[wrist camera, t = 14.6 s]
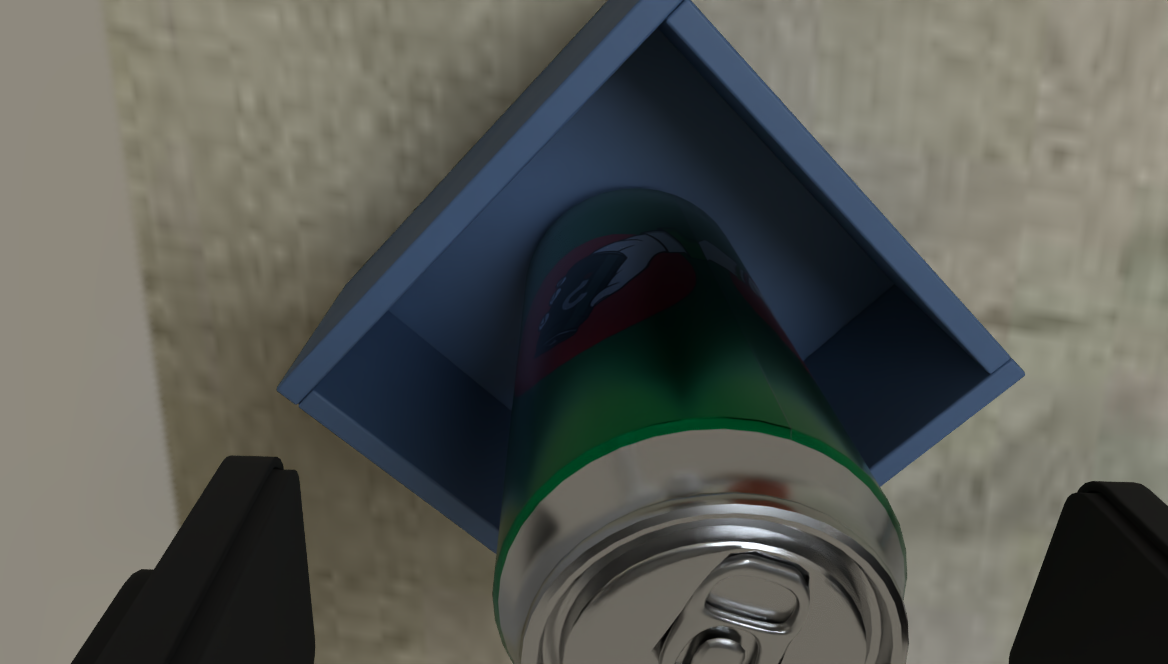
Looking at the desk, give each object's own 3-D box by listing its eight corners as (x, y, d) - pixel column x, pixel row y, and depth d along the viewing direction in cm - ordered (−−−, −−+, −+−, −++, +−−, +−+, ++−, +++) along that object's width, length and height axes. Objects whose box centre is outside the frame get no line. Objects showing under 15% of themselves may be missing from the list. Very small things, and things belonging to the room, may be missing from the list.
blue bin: (344, 286, 21) (274, 390, 16) (635, -31, 18) (666, -28, 13) (628, 517, 24) (646, 667, 18) (914, 275, 21) (1028, 374, 16)
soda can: (497, 342, 21) (429, 769, 10) (568, 150, 19) (579, 409, 8) (685, 402, 22) (817, 860, 11) (770, 224, 20) (1036, 553, 9)
